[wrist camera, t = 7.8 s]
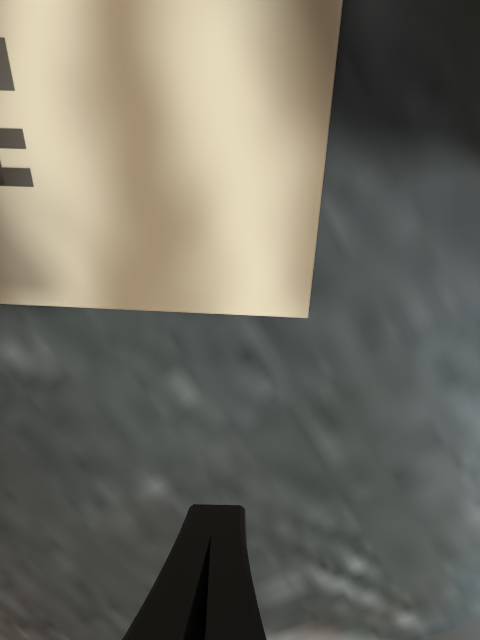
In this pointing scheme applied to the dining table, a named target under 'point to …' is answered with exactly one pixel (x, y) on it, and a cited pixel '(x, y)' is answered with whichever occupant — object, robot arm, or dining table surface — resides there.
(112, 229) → the board
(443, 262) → the dining table surface
